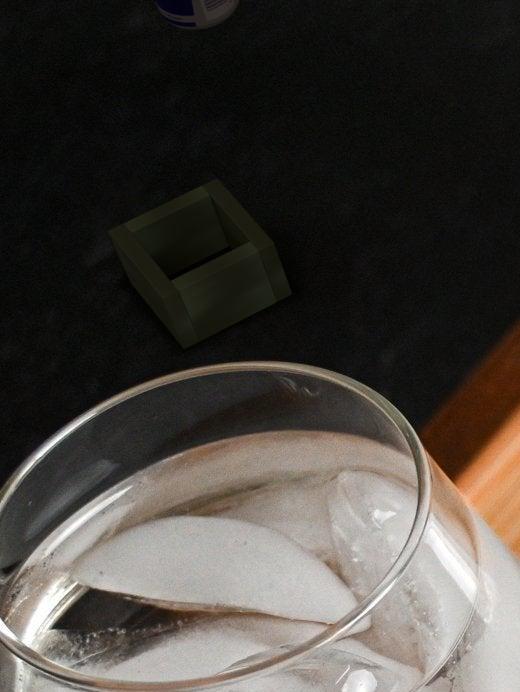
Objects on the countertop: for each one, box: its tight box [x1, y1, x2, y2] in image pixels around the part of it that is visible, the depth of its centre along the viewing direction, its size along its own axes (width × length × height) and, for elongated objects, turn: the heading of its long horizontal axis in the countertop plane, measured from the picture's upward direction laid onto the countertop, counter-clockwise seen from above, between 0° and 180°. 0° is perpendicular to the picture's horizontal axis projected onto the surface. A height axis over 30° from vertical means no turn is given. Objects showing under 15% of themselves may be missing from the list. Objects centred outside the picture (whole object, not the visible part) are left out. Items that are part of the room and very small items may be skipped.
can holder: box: [107, 178, 293, 350], centre depth 132 cm, size 8×8×5 cm
